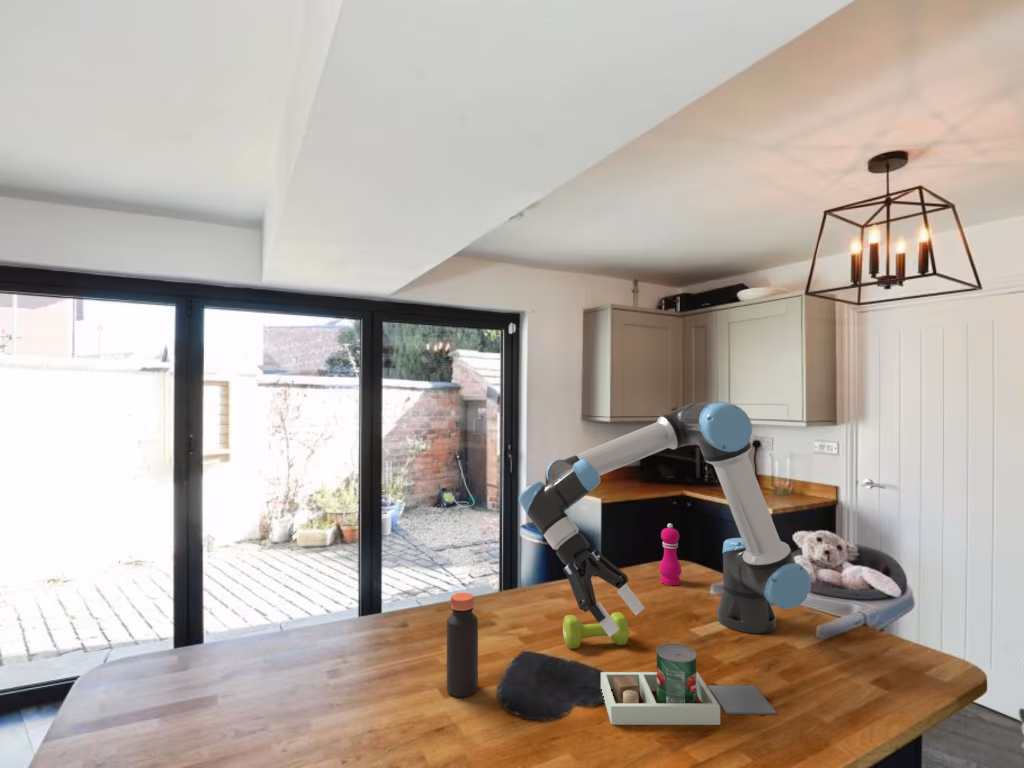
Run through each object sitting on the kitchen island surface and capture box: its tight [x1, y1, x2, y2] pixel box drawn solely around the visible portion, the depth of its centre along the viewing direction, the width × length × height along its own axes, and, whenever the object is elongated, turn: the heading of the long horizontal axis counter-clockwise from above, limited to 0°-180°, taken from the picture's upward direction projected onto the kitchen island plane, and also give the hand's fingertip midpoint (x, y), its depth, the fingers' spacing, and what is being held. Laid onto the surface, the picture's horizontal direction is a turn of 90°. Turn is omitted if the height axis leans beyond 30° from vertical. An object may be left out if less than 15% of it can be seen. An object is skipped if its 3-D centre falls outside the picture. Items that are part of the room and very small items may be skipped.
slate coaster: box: [707, 684, 778, 715], centre depth 114 cm, size 10×10×1 cm
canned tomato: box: [656, 642, 698, 703], centre depth 112 cm, size 8×8×11 cm
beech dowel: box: [623, 690, 638, 703], centre depth 109 cm, size 3×3×4 cm
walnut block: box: [612, 676, 640, 703], centre depth 114 cm, size 4×4×4 cm
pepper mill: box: [658, 523, 682, 586], centre depth 185 cm, size 7×7×20 cm
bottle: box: [446, 592, 479, 698], centre depth 118 cm, size 7×7×20 cm
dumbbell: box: [562, 611, 630, 650], centre depth 140 cm, size 16×8×7 cm, turn 97°
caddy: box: [600, 671, 721, 726], centre depth 112 cm, size 21×13×4 cm, turn 90°
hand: (628, 622), depth 118 cm, fingers open, 13 cm apart
